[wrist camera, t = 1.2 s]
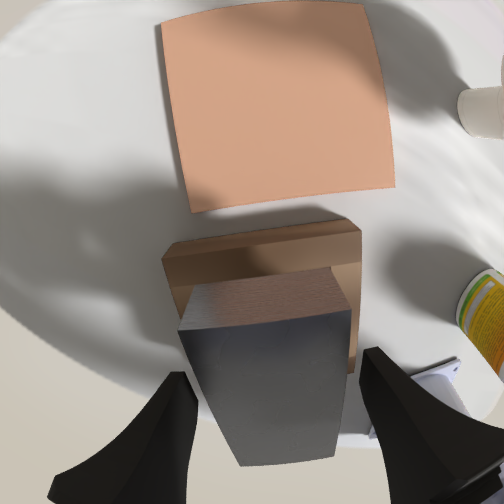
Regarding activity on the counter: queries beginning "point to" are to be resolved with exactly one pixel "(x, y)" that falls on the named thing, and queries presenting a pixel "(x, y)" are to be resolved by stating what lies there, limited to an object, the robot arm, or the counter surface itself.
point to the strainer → (483, 110)
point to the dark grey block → (272, 362)
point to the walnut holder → (271, 261)
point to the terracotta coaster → (277, 102)
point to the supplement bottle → (485, 317)
